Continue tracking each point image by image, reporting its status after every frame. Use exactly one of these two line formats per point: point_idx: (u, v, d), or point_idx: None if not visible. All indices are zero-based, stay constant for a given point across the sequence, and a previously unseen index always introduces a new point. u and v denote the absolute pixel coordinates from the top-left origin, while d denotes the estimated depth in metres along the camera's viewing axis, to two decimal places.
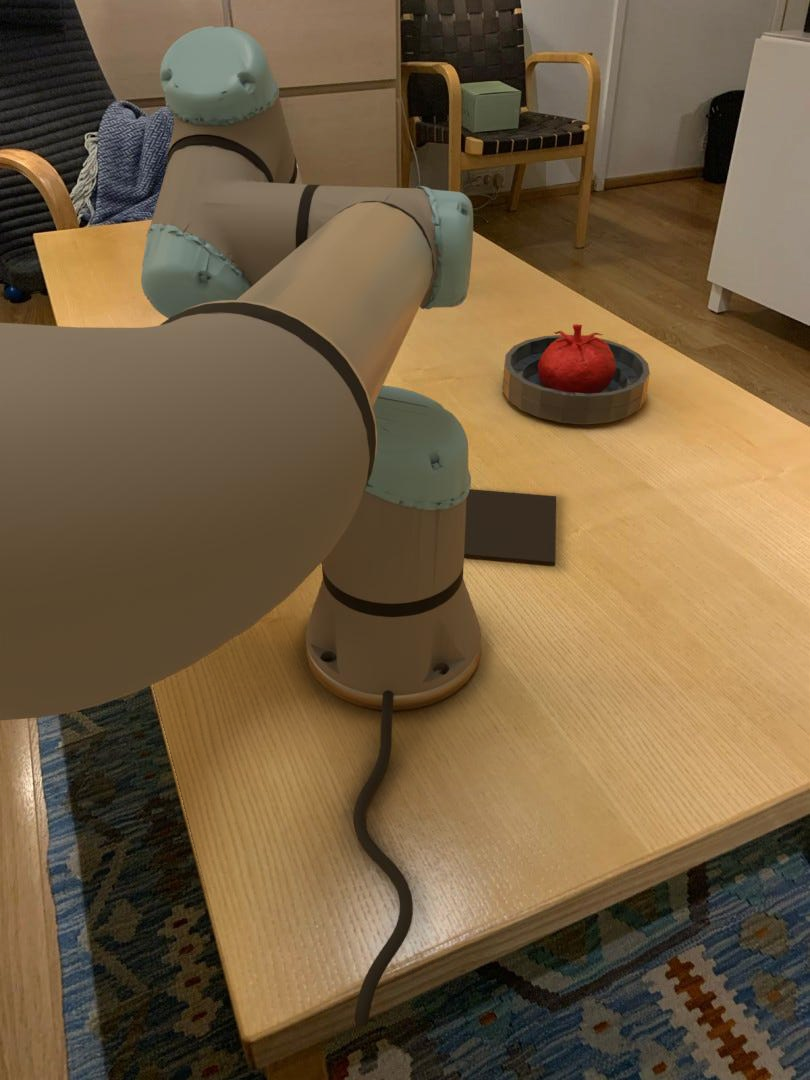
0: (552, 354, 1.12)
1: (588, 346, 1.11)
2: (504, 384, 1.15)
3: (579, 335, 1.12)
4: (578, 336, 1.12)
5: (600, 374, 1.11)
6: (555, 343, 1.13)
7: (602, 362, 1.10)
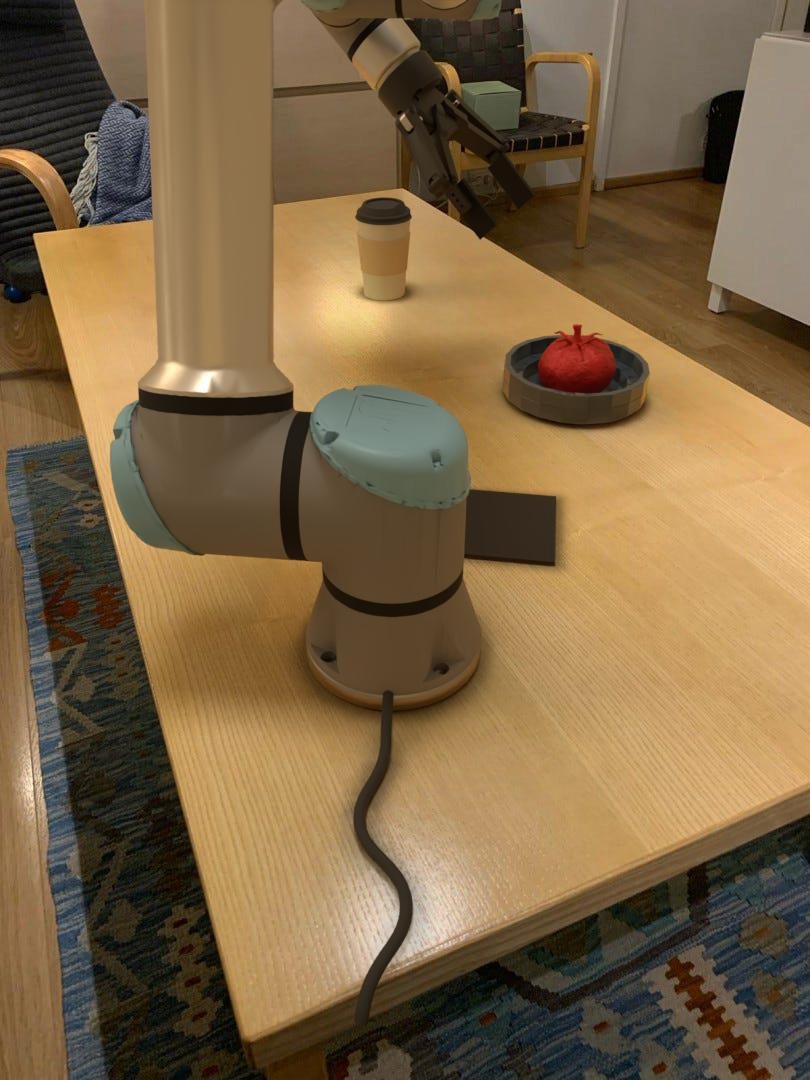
0: (552, 354, 1.12)
1: (588, 346, 1.11)
2: (504, 384, 1.15)
3: (579, 335, 1.12)
4: (578, 336, 1.12)
5: (600, 374, 1.11)
6: (555, 343, 1.13)
7: (602, 362, 1.10)
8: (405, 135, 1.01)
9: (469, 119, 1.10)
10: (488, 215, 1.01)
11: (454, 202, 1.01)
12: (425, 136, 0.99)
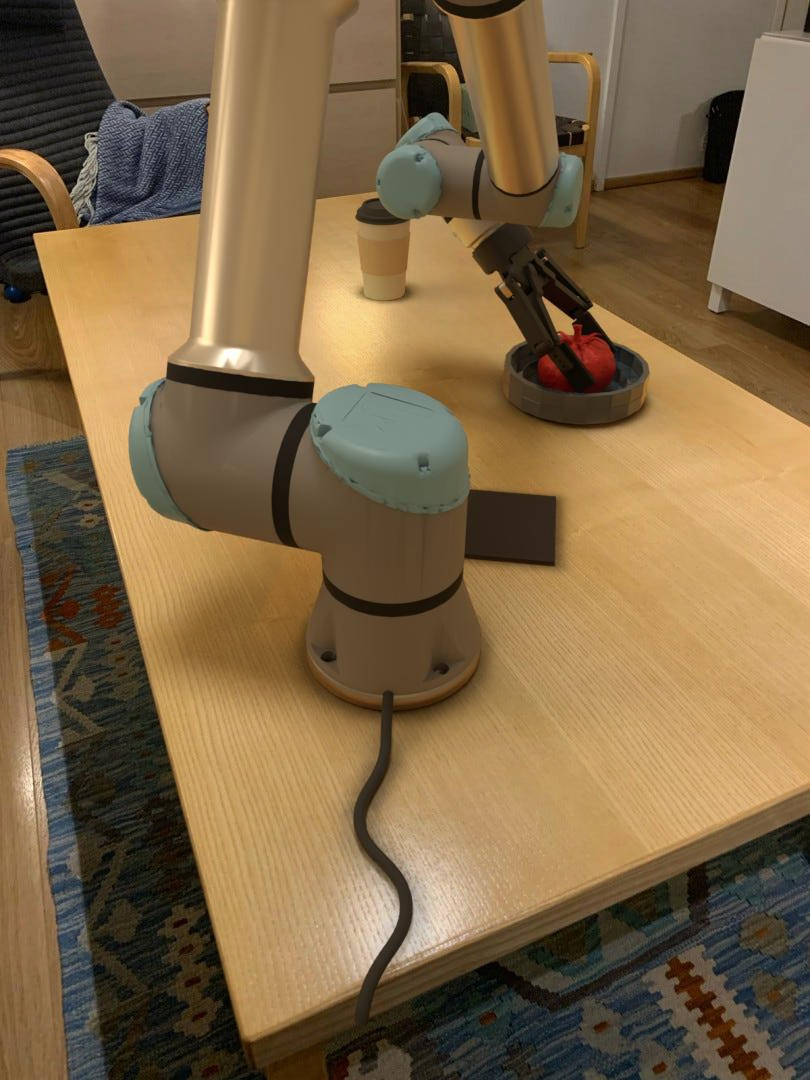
0: None
1: (588, 346, 1.11)
2: (504, 384, 1.15)
3: (579, 335, 1.12)
4: (578, 336, 1.12)
5: (599, 374, 1.11)
6: None
7: (602, 362, 1.10)
8: (505, 301, 1.07)
9: (555, 275, 1.15)
10: (588, 374, 1.08)
11: (556, 362, 1.08)
12: (526, 304, 1.05)
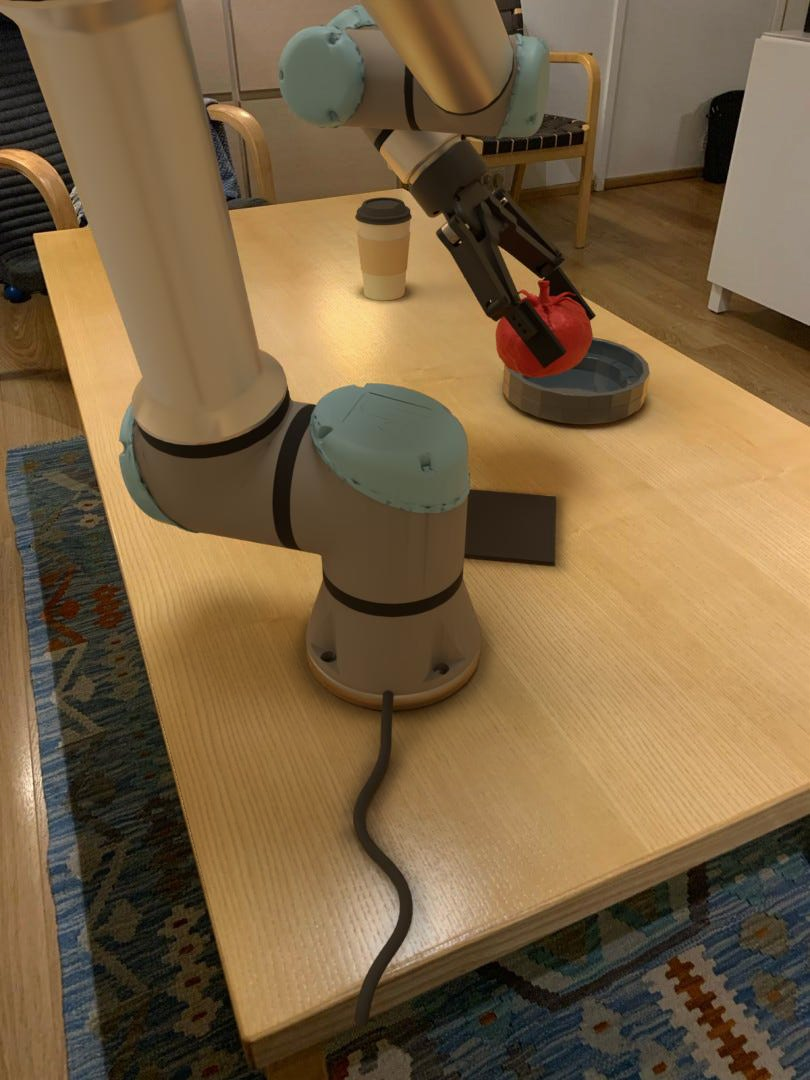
0: None
1: (557, 308, 0.88)
2: (504, 384, 1.15)
3: (546, 294, 0.88)
4: (545, 295, 0.88)
5: (571, 343, 0.87)
6: None
7: (574, 327, 0.87)
8: (450, 248, 0.84)
9: (518, 221, 0.92)
10: (555, 342, 0.85)
11: (515, 327, 0.85)
12: (476, 250, 0.82)
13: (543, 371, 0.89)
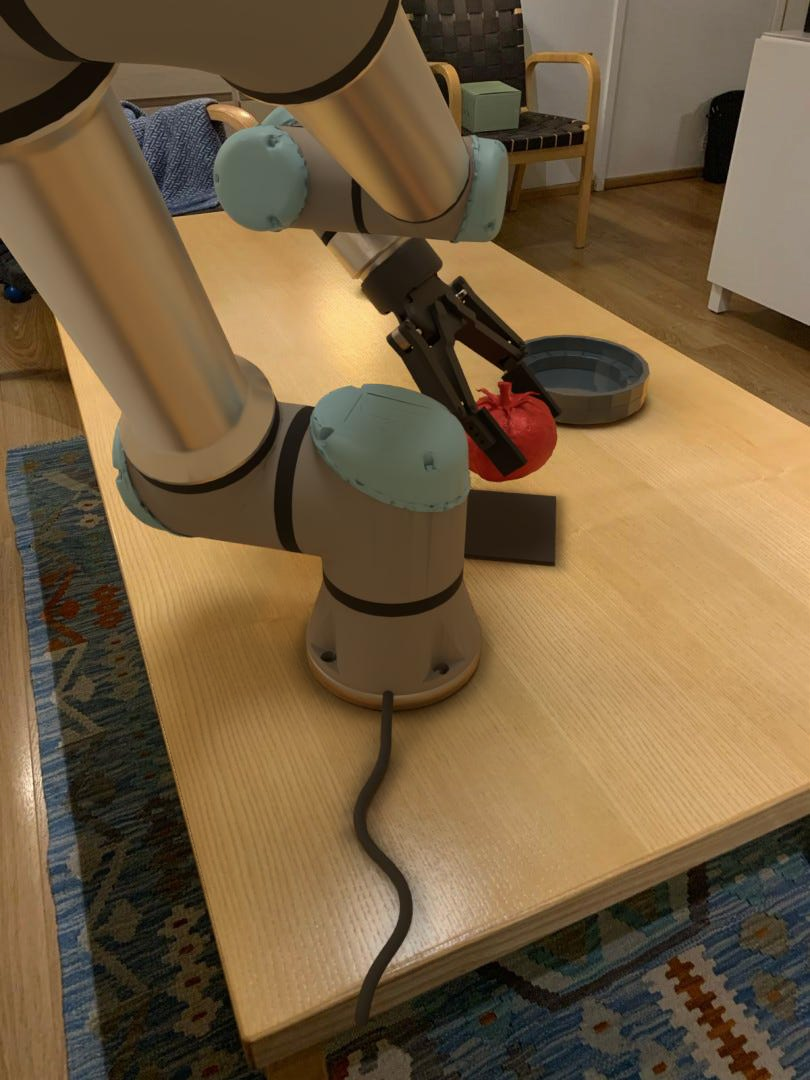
0: None
1: (518, 411, 0.83)
2: None
3: (507, 396, 0.83)
4: (505, 397, 0.83)
5: (533, 450, 0.82)
6: None
7: (536, 433, 0.82)
8: (401, 354, 0.78)
9: (478, 313, 0.87)
10: (515, 452, 0.80)
11: (472, 436, 0.79)
12: (429, 358, 0.77)
13: (505, 477, 0.84)
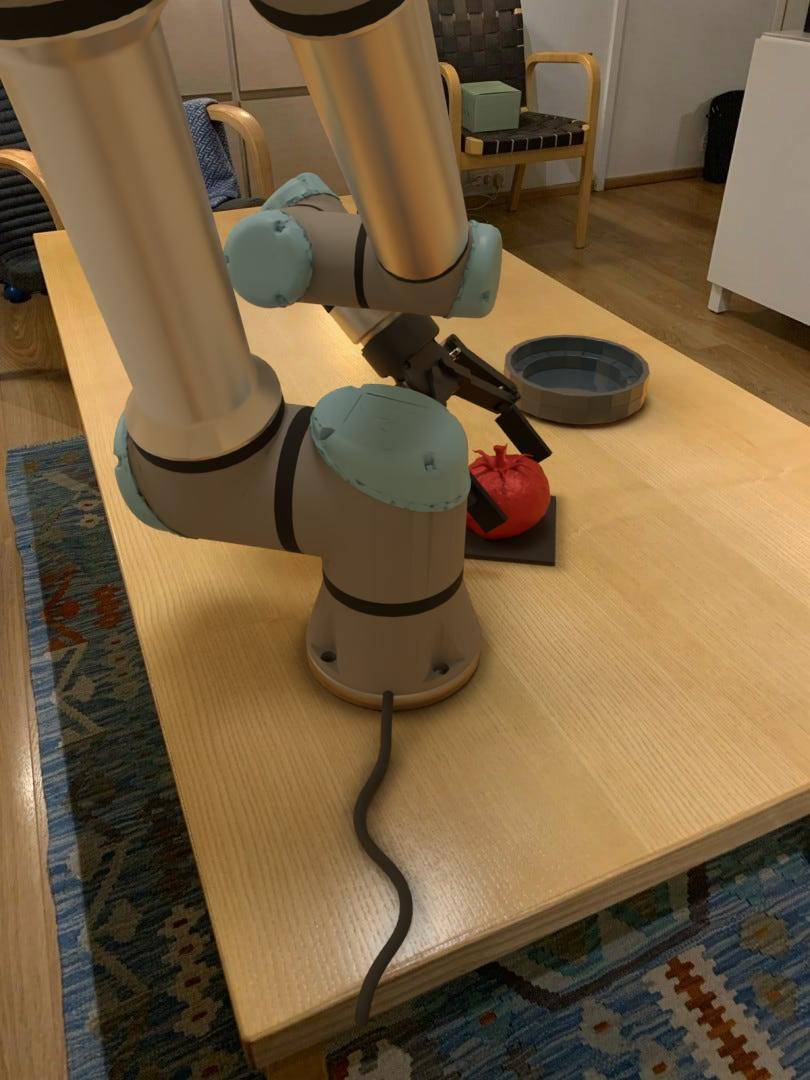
0: None
1: (513, 473, 0.87)
2: None
3: (502, 458, 0.87)
4: (500, 460, 0.87)
5: (527, 510, 0.86)
6: (472, 467, 0.88)
7: (530, 495, 0.86)
8: None
9: (472, 367, 0.91)
10: (496, 510, 0.82)
11: None
12: None
13: (500, 535, 0.88)
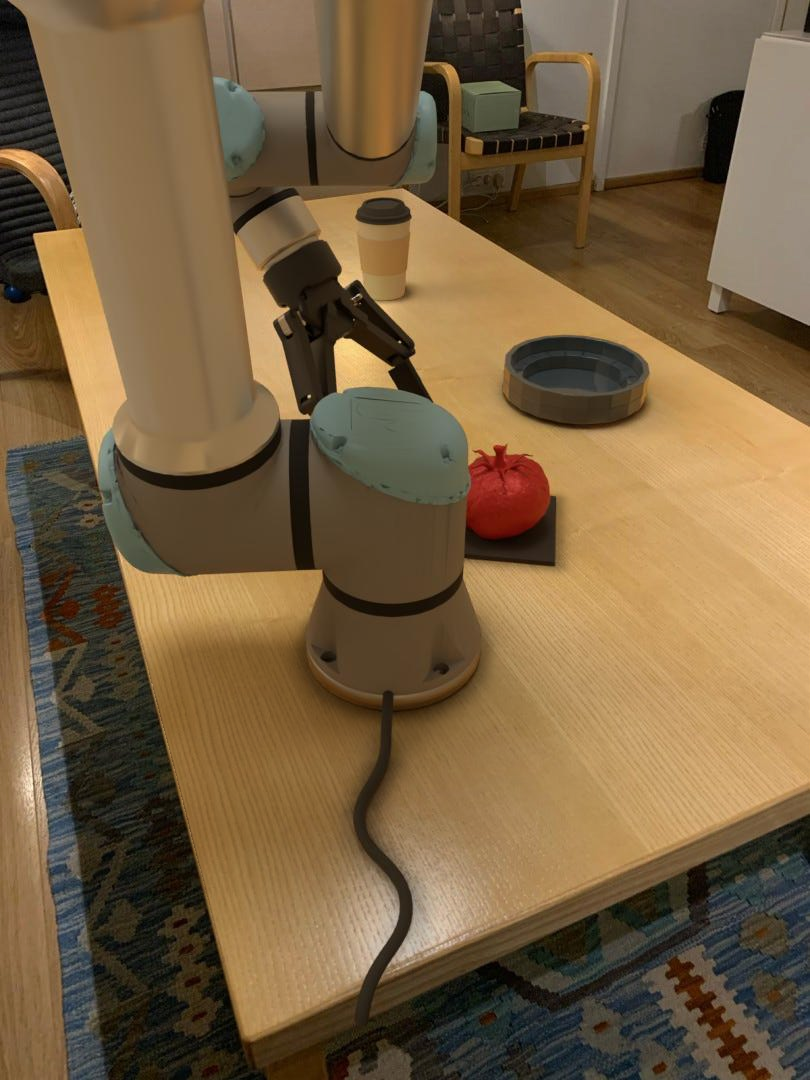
0: None
1: (513, 473, 0.87)
2: (504, 384, 1.15)
3: (502, 458, 0.87)
4: (500, 460, 0.87)
5: (527, 510, 0.86)
6: (472, 467, 0.88)
7: (530, 495, 0.86)
8: (282, 339, 0.84)
9: (373, 315, 0.94)
10: None
11: None
12: (304, 347, 0.82)
13: (500, 535, 0.88)
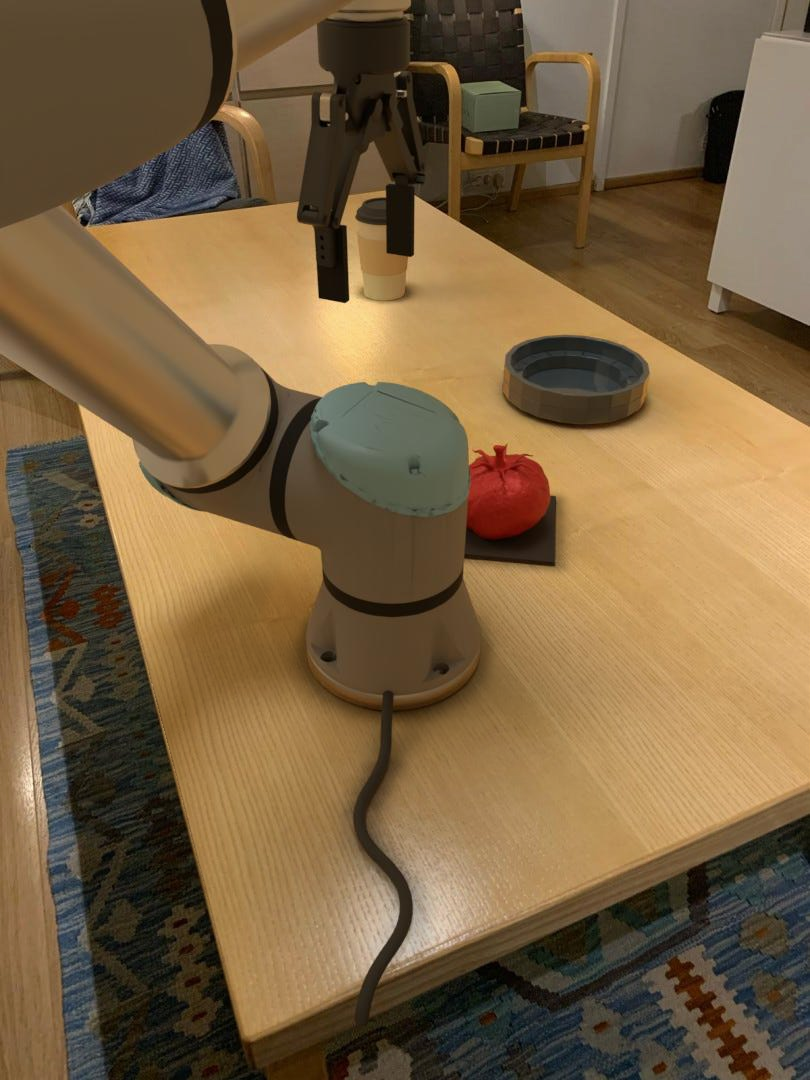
0: None
1: (513, 473, 0.87)
2: (504, 384, 1.15)
3: (502, 458, 0.87)
4: (500, 460, 0.87)
5: (527, 510, 0.86)
6: (472, 467, 0.88)
7: (530, 495, 0.86)
8: (314, 121, 0.69)
9: (404, 120, 0.80)
10: (344, 286, 0.76)
11: (317, 246, 0.74)
12: (335, 149, 0.69)
13: (500, 535, 0.88)
